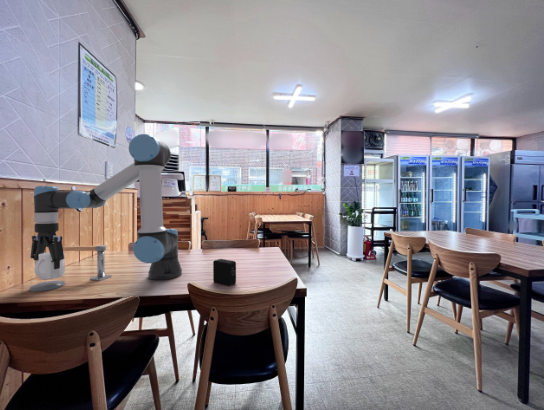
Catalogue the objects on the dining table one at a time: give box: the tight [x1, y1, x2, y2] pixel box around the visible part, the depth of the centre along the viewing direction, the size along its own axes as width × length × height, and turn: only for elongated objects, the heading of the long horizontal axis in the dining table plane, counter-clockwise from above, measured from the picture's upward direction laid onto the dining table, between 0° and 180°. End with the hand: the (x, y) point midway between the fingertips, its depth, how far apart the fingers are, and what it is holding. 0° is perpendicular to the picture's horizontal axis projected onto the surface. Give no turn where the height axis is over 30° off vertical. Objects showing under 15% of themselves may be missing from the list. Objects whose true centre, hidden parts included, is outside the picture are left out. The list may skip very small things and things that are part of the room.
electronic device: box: [212, 258, 237, 287], centre depth 108 cm, size 4×10×10 cm, turn 58°
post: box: [89, 250, 113, 281], centre depth 115 cm, size 6×6×13 cm
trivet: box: [29, 280, 66, 293], centre depth 103 cm, size 11×11×1 cm
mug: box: [33, 251, 66, 281], centre depth 103 cm, size 12×8×10 cm
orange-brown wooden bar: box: [63, 245, 107, 252], centre depth 114 cm, size 4×19×2 cm, turn 94°
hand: (47, 275), depth 103 cm, fingers closed on mug, 8 cm apart
